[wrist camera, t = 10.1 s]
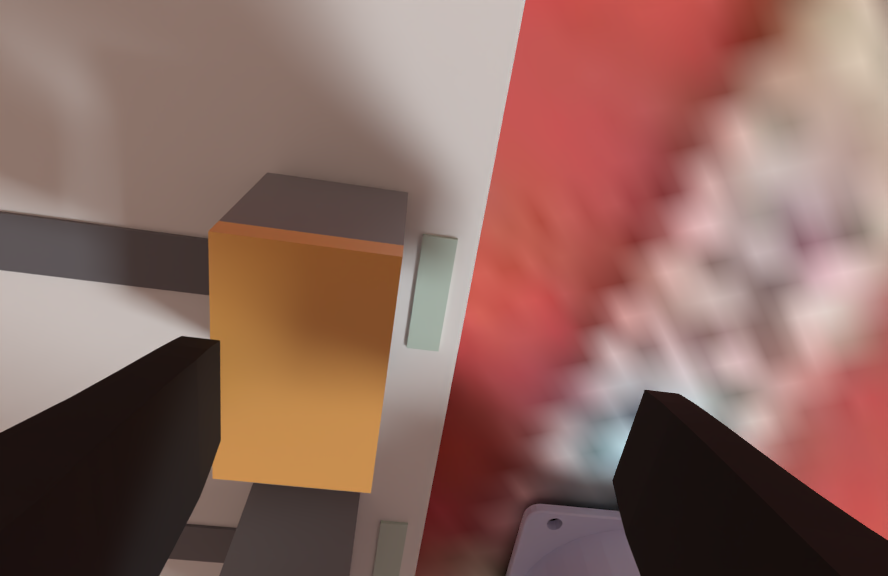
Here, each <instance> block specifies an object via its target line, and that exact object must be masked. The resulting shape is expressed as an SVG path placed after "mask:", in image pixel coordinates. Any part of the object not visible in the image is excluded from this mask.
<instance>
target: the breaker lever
mask: <svg viewBox="0 0 888 576" xmlns="http://www.w3.org/2000/svg"><path fill="white" fill-rule="evenodd" d="M407 201H408V192H402V191H395V190H388V189H380V188H373V187H366V186H359V185H352V184H345V183H338V182H331V181H324V180H317V179H310V178H303V177H296V176H289V175H282V174H275V173H268V172H267V173H266V174H265V175H264V176H263V177H262V178H261V179H260V180H259V181H258V182H257V183H256V184H255V185H254V186H253V187H252V188H251V189H250V190H249V191H248V192H247V193H246V194H245V195H244V196H243V197H242V198H241V199H240V200H239V201H238V202H237V203H236V204H235V205H234V206H233V207H232V208H231V209H230V210H229V211H228V212H227V213H226V214H225V215H224V216H223V217H222V218H221V219H220V220H219V221H218V222H217V223H216V224H215V225H214V226H213V227H212V228H211V229H210V230H209V231H208V249H209V305H210V339H213V340H220V390H221V442H220V445H219V447H218V450H217V453H216V456H215V459H214V461H213V464H212V475H213V479H222V480H233V481H243V482H254V483H265V484H276V485H287V486H298V487H309V488H319V489H330V490H341V491H352V492H363V493H371V488H372V481H373V474H374V466H375V459H376V451H377V444H378V436H379V429H380V422H381V414H382V407H383V399H384V392H385V384H386V377H387V370H388V362H389V355H390V347H391V340H392V332H393V325H394V318H395V310H396V303H397V295H398V288H399V280H400V273H401V265H402V258H403V247H404V236H405V224H406V213H407Z"/></svg>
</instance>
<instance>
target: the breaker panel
mask: <svg viewBox="0 0 888 576" xmlns="http://www.w3.org/2000/svg"><path fill="white" fill-rule="evenodd" d="M524 5H525V0H0V433H1V432H3V431H5V430H7V429H9V428H10V427H12V426H14V425H16V424H18V423H20V422H22V421H24V420H26V419H28V418H30V417H32V416H34V415H36V414H38V413H40V412H42V411H44V410H46V409H48V408H50V407H52V406H54V405H56V404H58V403H60V402H62V401H64V400H66V399H68V398H70V397H72V396H74V395H75V394H77V393H79V392H81V391H83V390H84V389H86V388H88V387H90V386H92V385H93V384H95V383H97V382H99V381H101V380H102V379H104V378H106V377H108V376H110V375H111V374H113V373H115V372H117V371H119V370H120V369H122V368H124V367H126V366H127V365H129V364H131V363H133V362H134V361H136V360H138V359H140V358H141V357H143V356H145V355H147V354H149V353H150V352H152V351H154V350H156V349H157V348H159V347H161V346H163V345H165V344H167V343H168V342H170V341H172V340H174V339H176V338H178V337H181V336H187V337H195V338H204V339H210V305H209V249H208V231H209V230H210V229H211V228H212V227H213V226H214V225H215V224H216V223H217V222H218V221H219V220H220V219H221V218H222V217H223V216H224V215H225V214H226V213H227V212H228V211H229V210H230V209H231V208H232V207H233V206H234V205H235V204H236V203H237V202H238V201H239V200H240V199H241V198H242V197H243V196H244V195H245V194H246V193H247V192H248V191H249V190H250V189H251V188H252V187H253V186H254V185H255V184H256V183H257V182H258V181H259V180H260V179H261V178H262V177H263V176H264V175H265V174H266V173H267V172H268V173H275V174H282V175H289V176H296V177H303V178H310V179H317V180H324V181H331V182H338V183H345V184H352V185H359V186H366V187H373V188H380V189H388V190H395V191H402V192H408V201H407V213H406V224H405V236H404V247H403V258H402V265H401V273H400V280H399V288H398V295H397V303H396V310H395V318H394V325H393V332H392V340H391V347H390V355H389V362H388V370H387V377H386V384H385V392H384V399H383V407H382V414H381V422H380V429H379V436H378V444H377V451H376V459H375V466H374V474H373V481H372V488H371V493H363V492H352V491H341V490H330V489H319V488H309V487H298V486H287V485H276V484H265V483H254V482H243V481H233V480H222V479H213V475H212V467H211V470H210V473H209V475H208V478H207V480H206V483H205V486H204V488H203V491H202V493H201V496H200V498H199V500H198V502H197V504H196V506H195V508H194V510H193V512H192V514H191V516H190V518H189V520H188V522H187V524H186V526H185V527H184V529H183V531H182V533H181V535H180V537H179V539H178V541H177V543H176V545H175V547H174V549H173V551H172V552H171V554H170V556H169V558H168V560H167V562H166V564H165V566H164V568H163V570H162V572H161V573H160V575H159V576H415V572H416V567H417V562H418V556H419V551H420V546H421V541H422V536H423V530H424V525H425V520H426V515H427V510H428V504H429V499H430V494H431V489H432V484H433V478H434V473H435V468H436V463H437V458H438V452H439V447H440V442H441V437H442V431H443V426H444V421H445V416H446V411H447V405H448V400H449V395H450V390H451V385H452V379H453V374H454V369H455V364H456V359H457V353H458V348H459V343H460V338H461V333H462V327H463V322H464V317H465V312H466V307H467V301H468V296H469V291H470V286H471V281H472V275H473V270H474V265H475V260H476V255H477V249H478V244H479V239H480V234H481V228H482V223H483V218H484V213H485V208H486V202H487V197H488V192H489V187H490V182H491V176H492V171H493V166H494V161H495V156H496V150H497V145H498V140H499V135H500V130H501V124H502V119H503V114H504V109H505V104H506V98H507V93H508V88H509V83H510V78H511V72H512V67H513V62H514V57H515V52H516V46H517V41H518V36H519V31H520V25H521V20H522V15H523V10H524Z"/></svg>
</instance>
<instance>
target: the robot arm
mask: <svg viewBox="0 0 888 576" xmlns="http://www.w3.org/2000/svg"><path fill="white" fill-rule="evenodd" d="M220 442H221V390H220V340H213V339H204V338H195V337H187V336H181V337H178V338H176V339H174V340H172V341H170V342H168V343H167V344H165V345H163V346H161V347H159V348H157V349H156V350H154V351H152V352H150V353H149V354H147V355H145V356H143V357H141V358H140V359H138V360H136V361H134V362H133V363H131V364H129V365H127V366H126V367H124V368H122V369H120V370H119V371H117V372H115V373H113V374H111V375H110V376H108V377H106V378H104V379H102V380H101V381H99V382H97V383H95V384H93V385H92V386H90V387H88V388H86V389H84V390H83V391H81V392H79V393H77V394H75V395H74V396H72V397H70V398H68V399H66V400H64V401H62V402H60V403H58V404H56V405H54V406H52V407H50V408H48V409H46V410H44V411H42V412H40V413H38V414H36V415H34V416H32V417H30V418H28V419H26V420H24V421H22V422H20V423H18V424H16V425H14V426H12V427H10V428H9V429H7V430H5V431H3V432H1V433H0V576H159V575H160V573H161V572H162V570H163V568H164V566H165V564H166V562H167V560H168V558H169V556H170V554H171V552H172V551H173V549H174V547H175V545H176V543H177V541H178V539H179V537H180V535H181V533H182V531H183V529H184V527H185V526H186V524H187V522H188V520H189V518H190V516H191V514H192V512H193V510H194V508H195V506H196V504H197V502H198V500H199V498H200V496H201V493H202V491H203V488H204V486H205V483H206V480H207V478H208V475H209V473H210V470H211V467H212V464H213V461H214V459H215V456H216V453H217V450H218V447H219V445H220ZM613 485H614V489H615V494H616V498H617V503H618V507H619V511H614V510H603V509H592V508H582V507H571V506H560V505H549V504H534V505H531V506H529V507H528V508H527V509H526V510H525V512H524V514H523V517H522V521H521V524H520V528H519V531H518V534H517V538H516V541H515V545H514V548H513V552H512V555H511V559H510V562H509V566H508V569H507V573H506V576H888V540H886V539H885V538H883V537H882V536H880V535H879V534H877V533H875V532H874V531H872V530H871V529H869V528H868V527H866V526H865V525H863V524H862V523H860V522H859V521H857V520H856V519H854V518H853V517H851V516H850V515H848V514H847V513H846V512H844V511H843V510H841V509H840V508H838V507H837V506H835V505H834V504H832V503H831V502H829V501H828V500H826V499H825V498H823V497H822V496H821V495H819V494H818V493H816V492H815V491H814V490H812V489H811V488H809V487H808V486H807V485H805V484H804V483H802V482H801V481H800V480H798V479H797V478H795V477H794V476H793V475H791V474H790V473H788V472H787V471H786V470H784V469H783V468H782V467H780V466H779V465H778V464H776V463H775V462H774V461H772V460H771V459H769V458H768V457H767V456H765V455H764V454H763V453H761V452H760V451H759V450H757V449H756V448H755V447H753V446H752V445H751V444H749V443H748V442H747V441H745V440H744V439H743V438H741V437H740V436H739V435H737V434H736V433H735V432H733V431H732V430H731V429H729V428H728V427H727V426H725V425H724V424H722V423H721V422H720V421H718V420H717V419H716V418H714V417H713V416H711V415H710V414H709V413H707V412H706V411H705V410H703V409H702V408H700V407H699V406H697V405H696V404H694V403H693V402H691V401H690V400H688V399H686V398H685V397H683V396H682V395H680V394H676V393H668V392H659V391H651V390H645V391H644V394H643V397H642V399H641V402H640V405H639V408H638V411H637V413H636V416H635V419H634V422H633V425H632V427H631V430H630V433H629V436H628V439H627V441H626V444H625V447H624V450H623V453H622V455H621V458H620V461H619V464H618V467H617V469H616V472H615V475H614V478H613ZM555 518H557V519H556V520H552V521H550V520H551V519H555Z"/></svg>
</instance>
